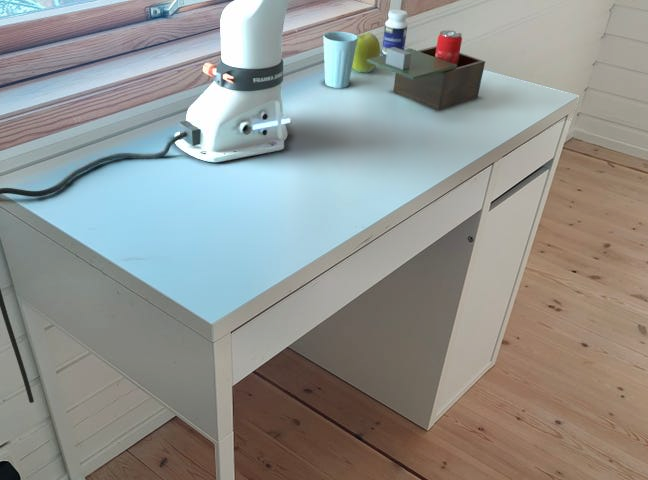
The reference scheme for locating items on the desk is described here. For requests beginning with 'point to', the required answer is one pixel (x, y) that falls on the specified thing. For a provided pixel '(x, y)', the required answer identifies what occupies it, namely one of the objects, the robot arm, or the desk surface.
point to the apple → (365, 52)
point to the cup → (339, 57)
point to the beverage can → (448, 46)
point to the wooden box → (444, 83)
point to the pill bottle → (395, 30)
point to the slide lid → (411, 63)
